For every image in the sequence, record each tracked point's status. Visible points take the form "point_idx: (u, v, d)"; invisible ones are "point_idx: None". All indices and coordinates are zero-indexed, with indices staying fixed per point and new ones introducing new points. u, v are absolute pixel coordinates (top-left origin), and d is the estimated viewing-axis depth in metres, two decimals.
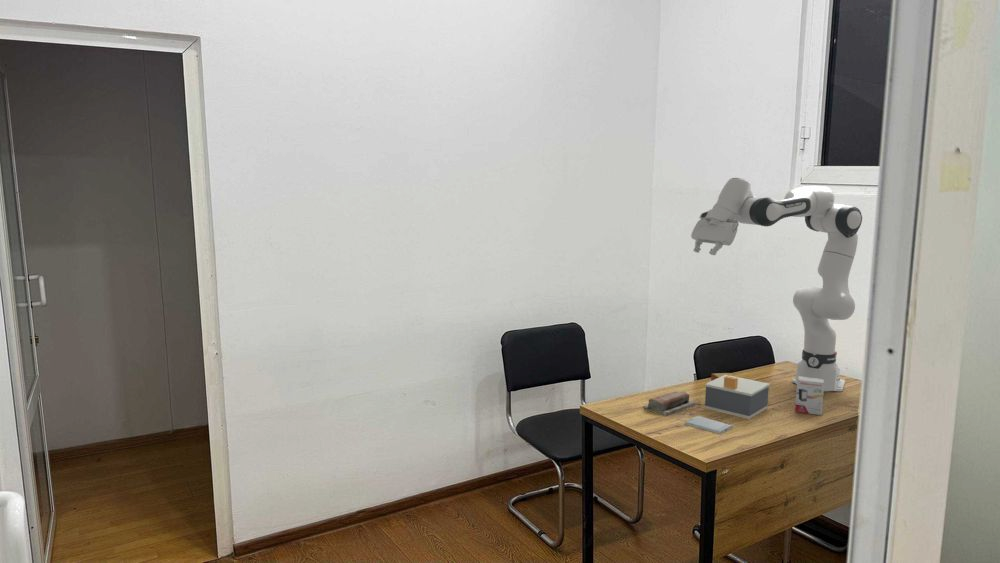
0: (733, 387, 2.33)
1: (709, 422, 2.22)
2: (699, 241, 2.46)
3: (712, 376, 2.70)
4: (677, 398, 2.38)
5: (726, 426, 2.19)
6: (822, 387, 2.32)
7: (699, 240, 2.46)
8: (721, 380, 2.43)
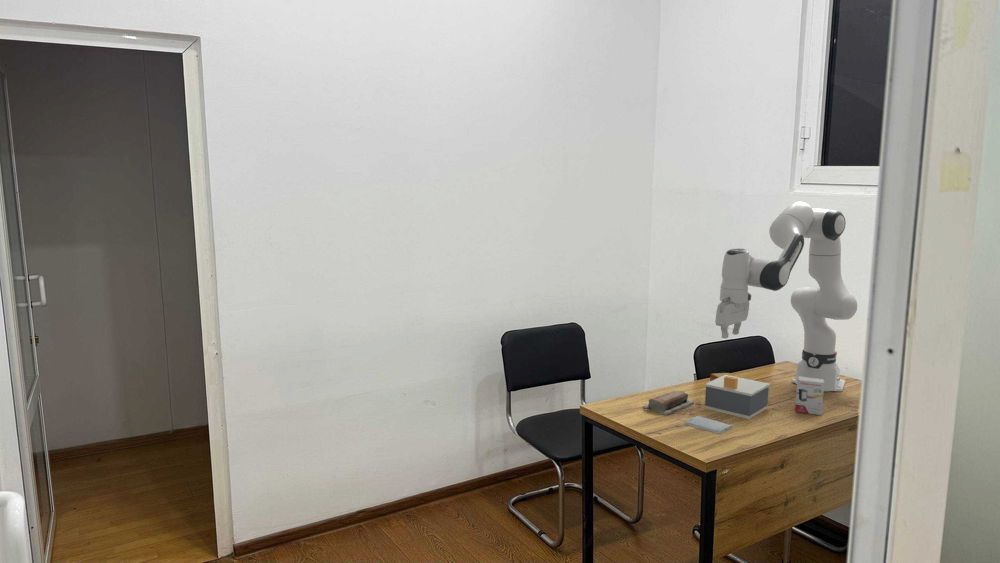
0: (733, 387, 2.33)
1: (709, 422, 2.23)
2: (735, 322, 2.36)
3: (711, 376, 2.70)
4: (677, 398, 2.39)
5: (726, 426, 2.19)
6: (822, 387, 2.32)
7: None
8: (721, 380, 2.43)
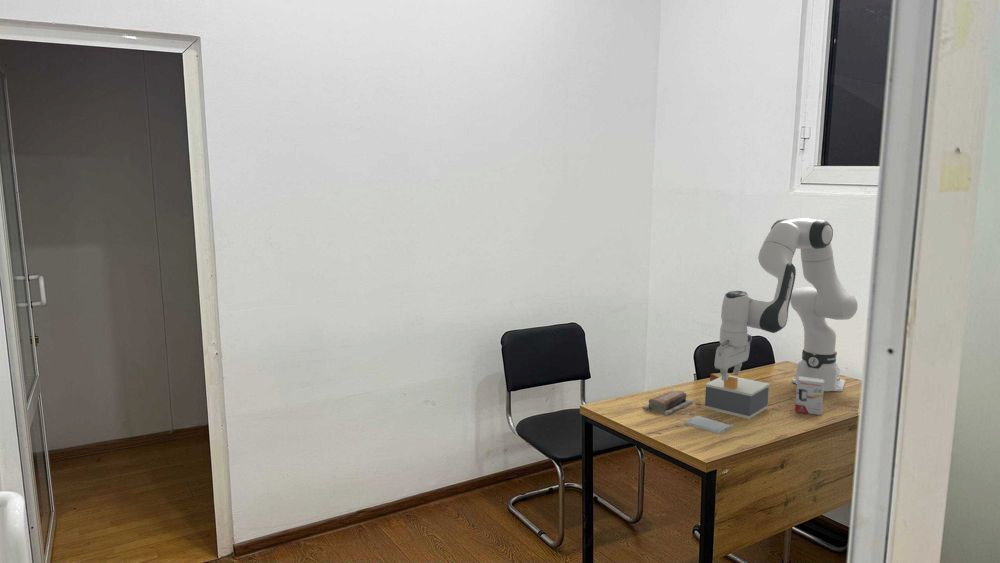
0: (733, 387, 2.33)
1: (708, 422, 2.23)
2: None
3: (711, 376, 2.70)
4: (676, 397, 2.39)
5: (726, 426, 2.19)
6: (822, 387, 2.32)
7: None
8: (721, 380, 2.43)
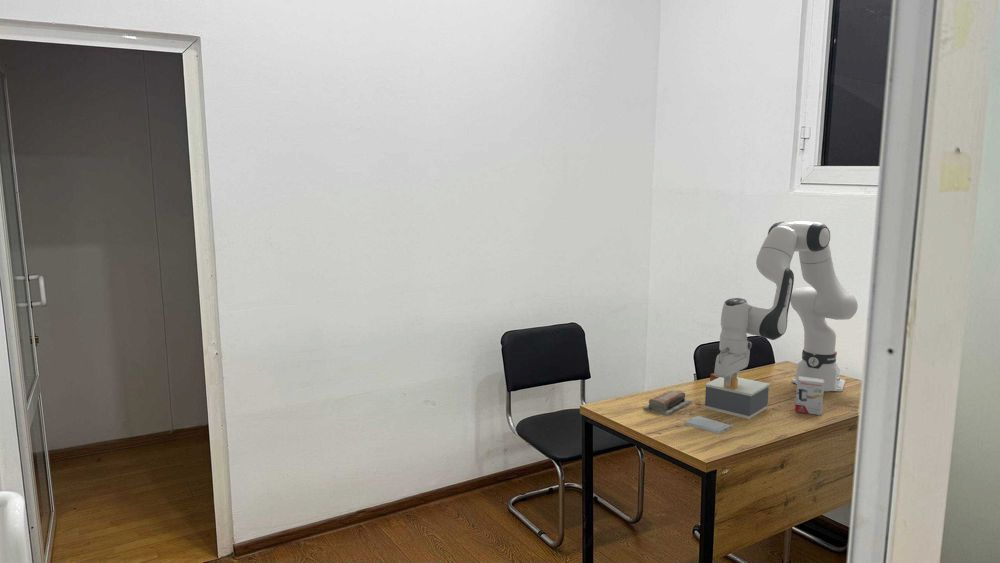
0: (733, 387, 2.33)
1: (708, 422, 2.23)
2: None
3: (711, 376, 2.70)
4: (676, 397, 2.39)
5: (726, 426, 2.19)
6: (822, 387, 2.32)
7: None
8: (721, 380, 2.43)
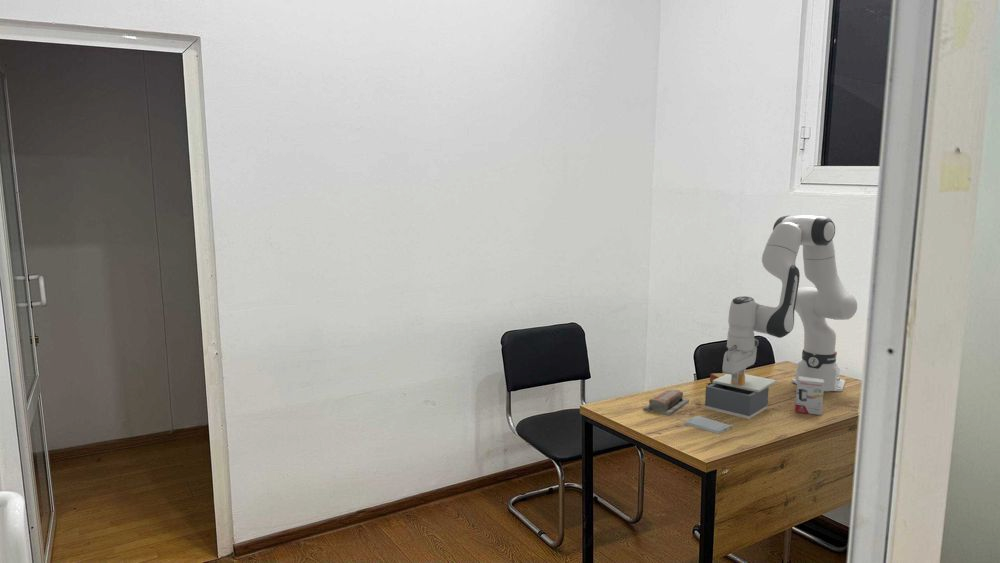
0: (740, 383, 2.37)
1: (708, 422, 2.23)
2: None
3: (711, 376, 2.70)
4: (675, 397, 2.40)
5: (725, 426, 2.19)
6: (822, 387, 2.32)
7: None
8: (729, 377, 2.47)
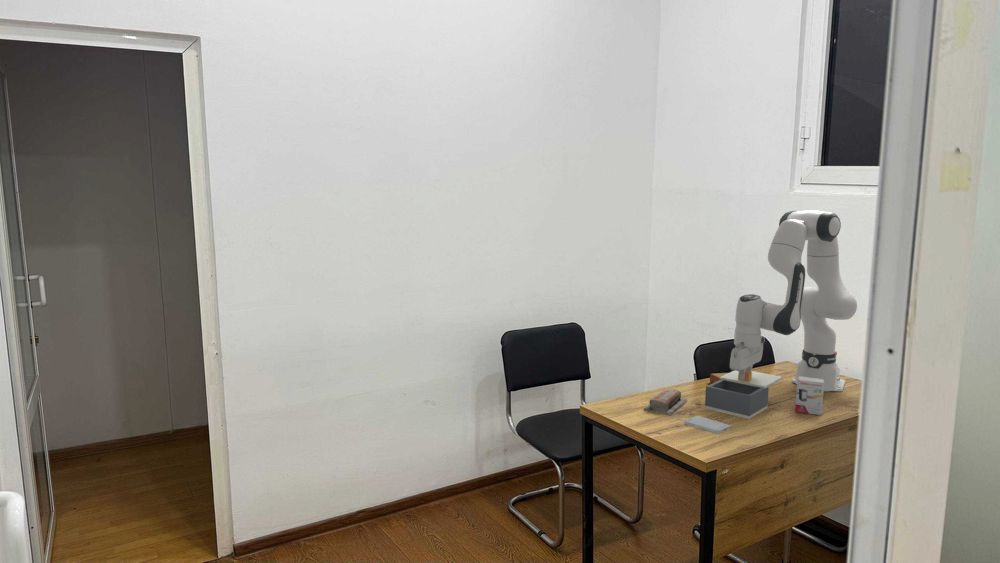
0: (747, 380, 2.42)
1: (708, 422, 2.23)
2: None
3: (711, 376, 2.70)
4: (674, 396, 2.40)
5: (725, 426, 2.19)
6: (822, 387, 2.32)
7: None
8: (735, 373, 2.52)
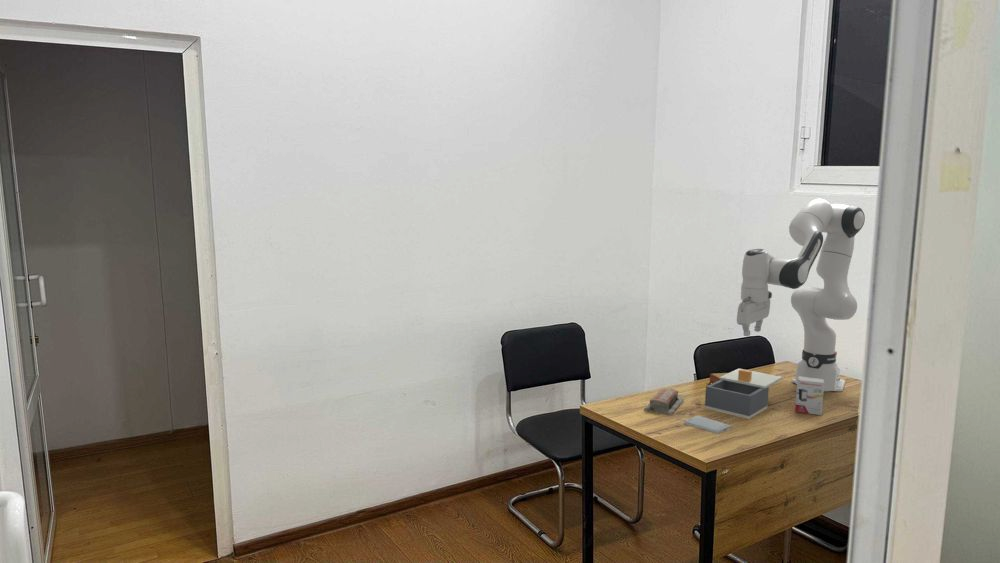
0: (747, 380, 2.42)
1: (708, 422, 2.23)
2: None
3: (711, 376, 2.69)
4: (673, 396, 2.41)
5: (725, 426, 2.19)
6: (822, 387, 2.32)
7: None
8: (735, 373, 2.52)
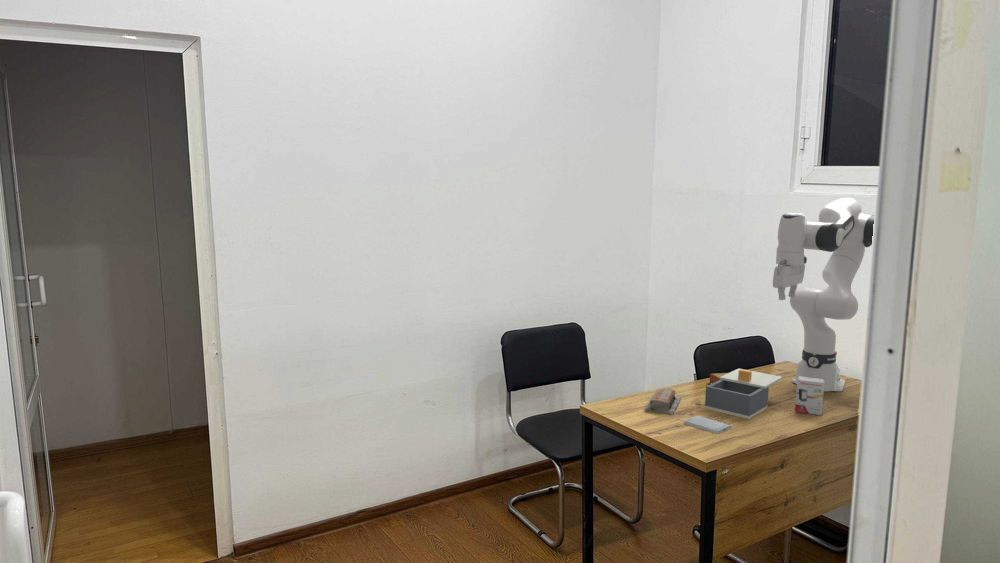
0: (747, 380, 2.42)
1: (708, 422, 2.23)
2: None
3: (711, 376, 2.69)
4: (671, 395, 2.41)
5: (725, 426, 2.19)
6: (822, 387, 2.32)
7: None
8: (735, 373, 2.52)
